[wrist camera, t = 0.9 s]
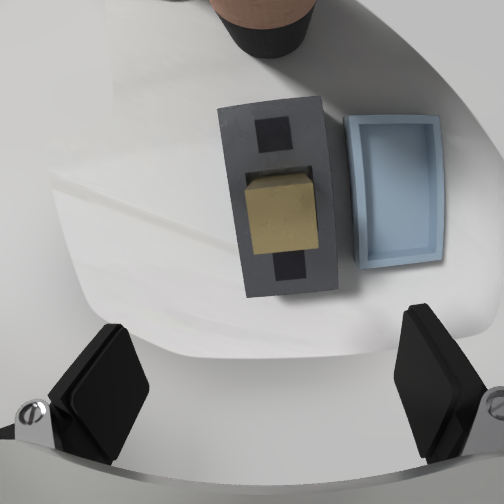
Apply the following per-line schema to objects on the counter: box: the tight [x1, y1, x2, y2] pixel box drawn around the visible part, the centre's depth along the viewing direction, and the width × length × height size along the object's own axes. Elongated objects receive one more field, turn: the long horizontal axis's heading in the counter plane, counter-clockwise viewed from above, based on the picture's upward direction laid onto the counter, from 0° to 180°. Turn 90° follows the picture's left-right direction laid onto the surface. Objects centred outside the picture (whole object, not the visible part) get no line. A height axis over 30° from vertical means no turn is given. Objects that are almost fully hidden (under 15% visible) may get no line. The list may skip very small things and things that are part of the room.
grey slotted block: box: [217, 96, 338, 298], centre depth 26 cm, size 16×8×5 cm, turn 8°
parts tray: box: [343, 115, 444, 270], centre depth 26 cm, size 14×9×2 cm, turn 8°
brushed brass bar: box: [245, 171, 319, 255], centre depth 23 cm, size 4×4×9 cm
